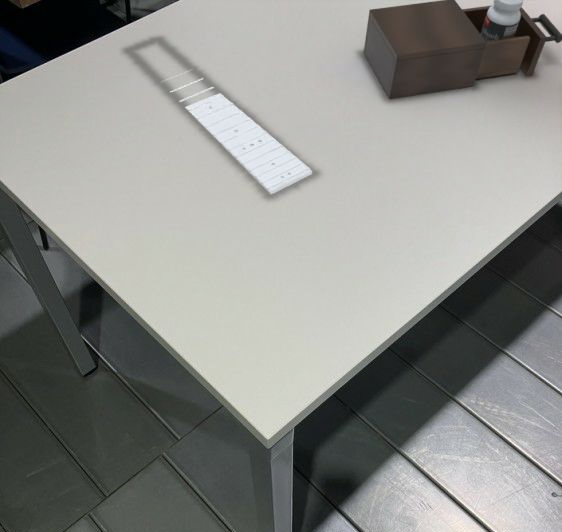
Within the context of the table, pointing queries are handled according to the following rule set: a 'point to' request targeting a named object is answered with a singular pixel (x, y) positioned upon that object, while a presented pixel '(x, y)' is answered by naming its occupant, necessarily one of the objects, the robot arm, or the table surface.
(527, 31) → the drawer
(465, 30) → the cabinet
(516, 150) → the table surface
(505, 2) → the pill bottle
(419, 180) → the table surface
